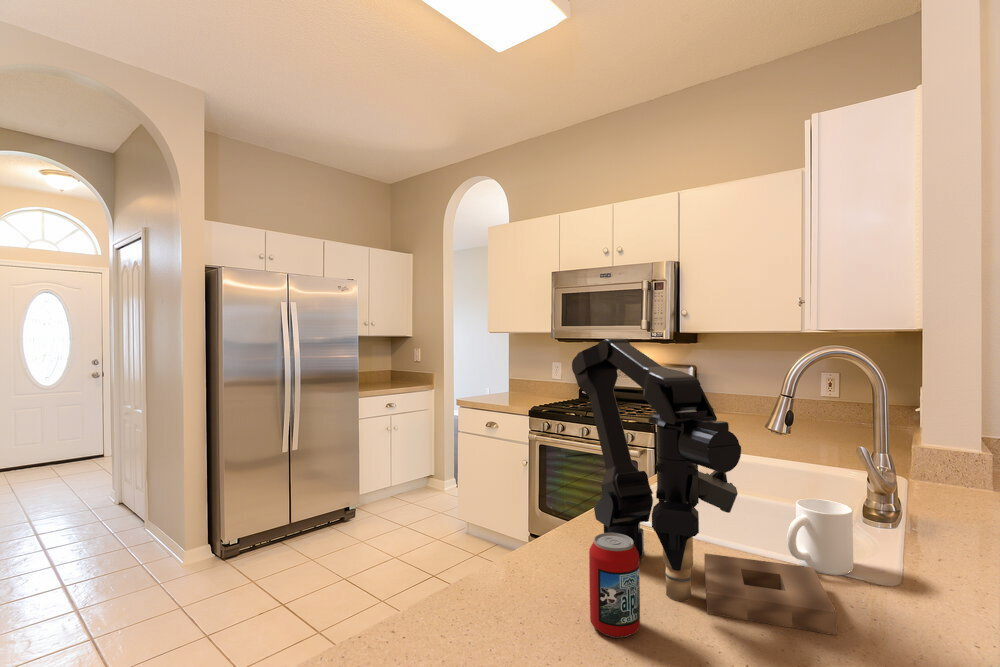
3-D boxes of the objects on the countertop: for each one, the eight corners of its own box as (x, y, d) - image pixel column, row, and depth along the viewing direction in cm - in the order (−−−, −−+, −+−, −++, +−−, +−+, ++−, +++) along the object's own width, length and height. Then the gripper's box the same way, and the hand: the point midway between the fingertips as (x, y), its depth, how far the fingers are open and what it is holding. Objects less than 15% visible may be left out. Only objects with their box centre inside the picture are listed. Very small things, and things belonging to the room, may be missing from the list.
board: (707, 613, 72) (706, 592, 72) (704, 570, 86) (704, 553, 86) (837, 635, 67) (836, 612, 67) (813, 586, 80) (812, 567, 80)
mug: (809, 583, 81) (808, 519, 81) (768, 561, 89) (767, 503, 89) (865, 572, 84) (864, 511, 84) (821, 552, 92) (820, 496, 92)
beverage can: (611, 647, 65) (610, 554, 65) (580, 621, 71) (579, 536, 71) (651, 633, 68) (649, 543, 68) (617, 609, 74) (616, 527, 74)
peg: (662, 599, 76) (661, 533, 76) (664, 586, 80) (663, 523, 81) (693, 604, 75) (692, 537, 75) (693, 590, 79) (692, 527, 79)
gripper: (738, 476, 66) (740, 595, 66) (728, 447, 84) (730, 541, 84) (650, 469, 70) (652, 581, 70) (658, 442, 88) (660, 532, 88)
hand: (677, 557), depth 78 cm, fingers open, 9 cm apart
